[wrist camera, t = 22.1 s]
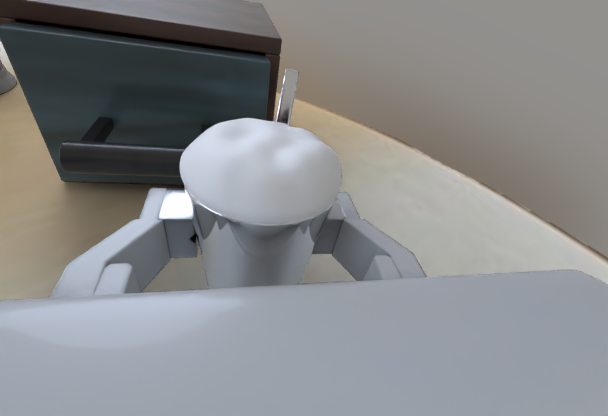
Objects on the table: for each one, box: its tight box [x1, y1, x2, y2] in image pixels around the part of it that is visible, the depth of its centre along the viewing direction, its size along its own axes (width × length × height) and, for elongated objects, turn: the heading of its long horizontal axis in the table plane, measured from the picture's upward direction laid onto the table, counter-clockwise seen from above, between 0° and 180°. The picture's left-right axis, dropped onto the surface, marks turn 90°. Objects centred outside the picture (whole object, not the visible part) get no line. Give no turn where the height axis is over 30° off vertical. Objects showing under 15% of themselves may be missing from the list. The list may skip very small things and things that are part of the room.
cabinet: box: [0, 0, 282, 185], centre depth 22 cm, size 14×13×10 cm
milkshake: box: [180, 68, 342, 289], centre depth 11 cm, size 4×5×10 cm
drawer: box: [0, 21, 271, 184], centre depth 19 cm, size 17×11×8 cm
